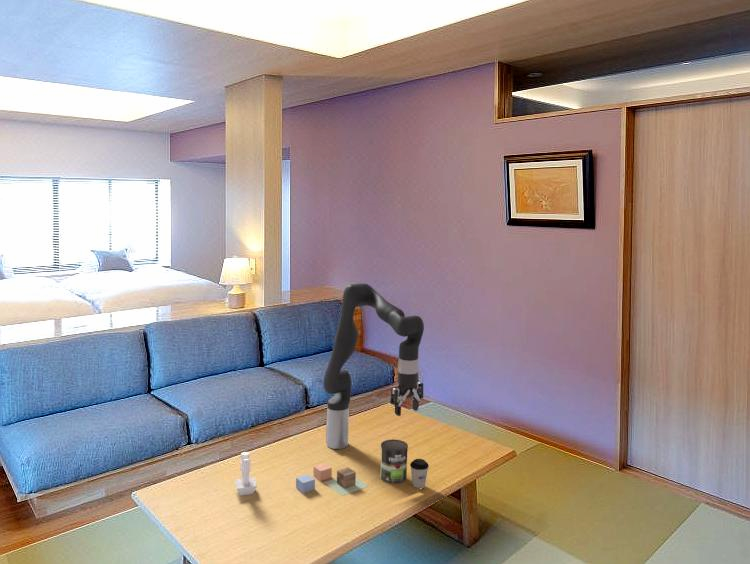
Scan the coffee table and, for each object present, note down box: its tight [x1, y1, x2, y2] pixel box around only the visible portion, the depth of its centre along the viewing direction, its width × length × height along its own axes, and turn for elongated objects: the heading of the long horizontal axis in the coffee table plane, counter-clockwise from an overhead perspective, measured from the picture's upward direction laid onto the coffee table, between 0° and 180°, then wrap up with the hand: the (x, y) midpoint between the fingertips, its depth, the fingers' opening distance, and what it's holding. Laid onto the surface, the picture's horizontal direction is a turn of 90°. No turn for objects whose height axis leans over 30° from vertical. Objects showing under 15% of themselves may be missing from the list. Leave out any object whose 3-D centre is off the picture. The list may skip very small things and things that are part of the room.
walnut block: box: [336, 466, 357, 489], centre depth 214 cm, size 5×5×5 cm
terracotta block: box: [312, 462, 333, 482], centre depth 219 cm, size 5×5×5 cm
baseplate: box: [323, 477, 369, 496], centre depth 214 cm, size 12×12×1 cm
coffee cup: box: [409, 458, 429, 490], centre depth 215 cm, size 7×7×10 cm
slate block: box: [295, 473, 316, 494], centre depth 210 cm, size 5×5×5 cm
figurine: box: [233, 451, 258, 497], centre depth 208 cm, size 7×9×15 cm
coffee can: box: [379, 439, 409, 485], centre depth 220 cm, size 10×10×14 cm
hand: (406, 412), depth 211 cm, fingers open, 8 cm apart
